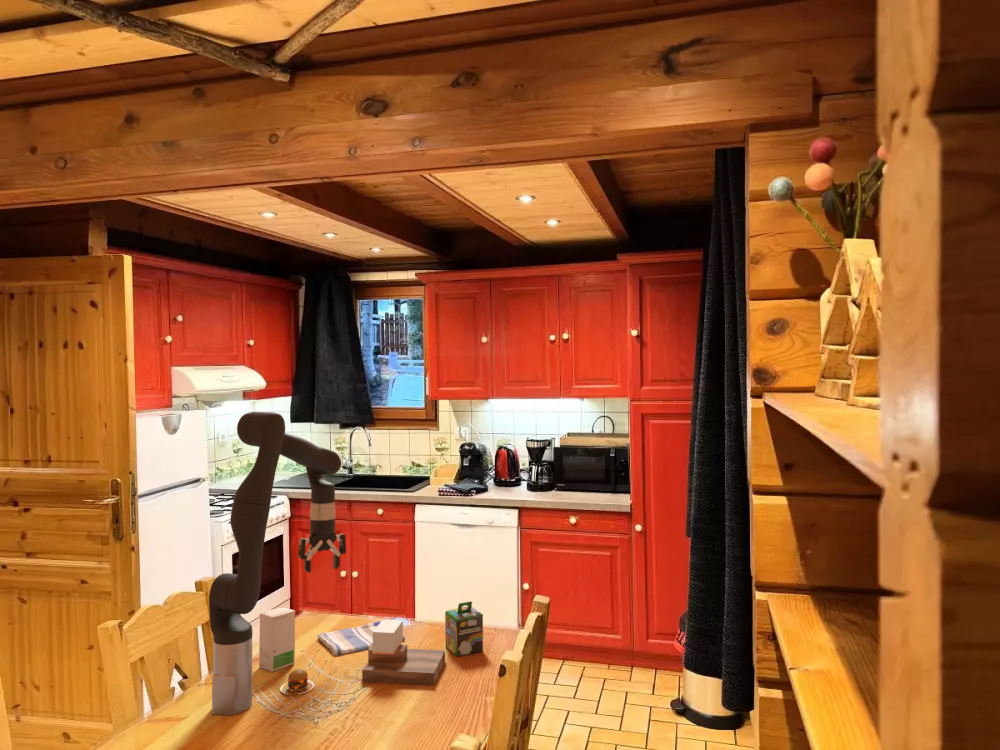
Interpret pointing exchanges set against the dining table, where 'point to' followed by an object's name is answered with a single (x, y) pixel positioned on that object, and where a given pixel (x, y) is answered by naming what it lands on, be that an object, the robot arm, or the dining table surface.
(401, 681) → the step stand
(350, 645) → the dish towel
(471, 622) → the chalk box
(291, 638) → the skincare box
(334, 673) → the dining table surface
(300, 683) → the hamburger
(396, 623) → the brick
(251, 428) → the robot arm
